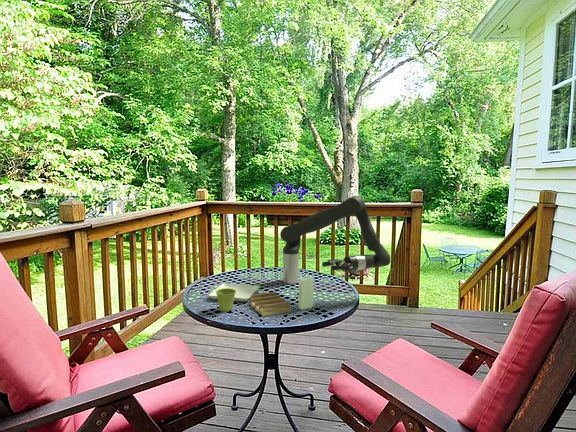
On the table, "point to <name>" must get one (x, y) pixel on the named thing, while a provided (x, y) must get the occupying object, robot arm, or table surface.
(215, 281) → the table surface
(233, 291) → the plant pot
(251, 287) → the salad plate
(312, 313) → the table surface
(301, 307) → the pale green block
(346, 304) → the table surface
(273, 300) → the drying rack
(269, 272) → the table surface
